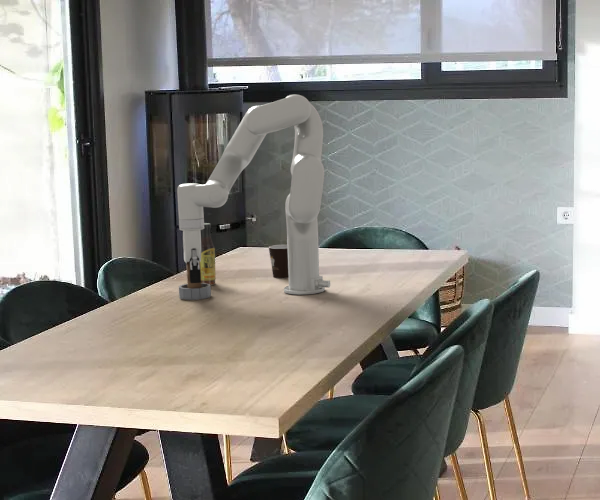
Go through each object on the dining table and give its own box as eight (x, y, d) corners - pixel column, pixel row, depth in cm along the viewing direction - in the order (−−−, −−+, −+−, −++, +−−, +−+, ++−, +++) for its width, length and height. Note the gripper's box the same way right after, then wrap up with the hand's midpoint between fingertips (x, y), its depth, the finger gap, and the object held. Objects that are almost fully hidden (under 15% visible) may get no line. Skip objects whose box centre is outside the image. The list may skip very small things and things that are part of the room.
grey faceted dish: (209, 292, 347) (209, 282, 346) (211, 298, 337) (211, 287, 337) (178, 294, 345) (178, 284, 345) (180, 300, 336) (179, 289, 335)
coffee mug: (295, 278, 367) (294, 248, 365) (269, 279, 367) (268, 249, 365) (296, 272, 378) (295, 243, 377) (270, 273, 378) (269, 243, 377)
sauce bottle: (206, 287, 357) (204, 225, 354) (192, 285, 360) (189, 224, 357) (220, 283, 362) (217, 222, 359) (206, 282, 366) (203, 222, 363)
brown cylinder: (200, 293, 344) (199, 261, 342) (201, 295, 340) (200, 263, 338) (187, 294, 343) (186, 261, 341) (188, 296, 339) (187, 264, 337)
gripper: (178, 221, 346) (181, 276, 348) (180, 228, 329) (183, 285, 332) (202, 220, 347) (205, 274, 349) (205, 227, 330) (208, 284, 333)
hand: (194, 280), depth 341 cm, fingers open, 9 cm apart
